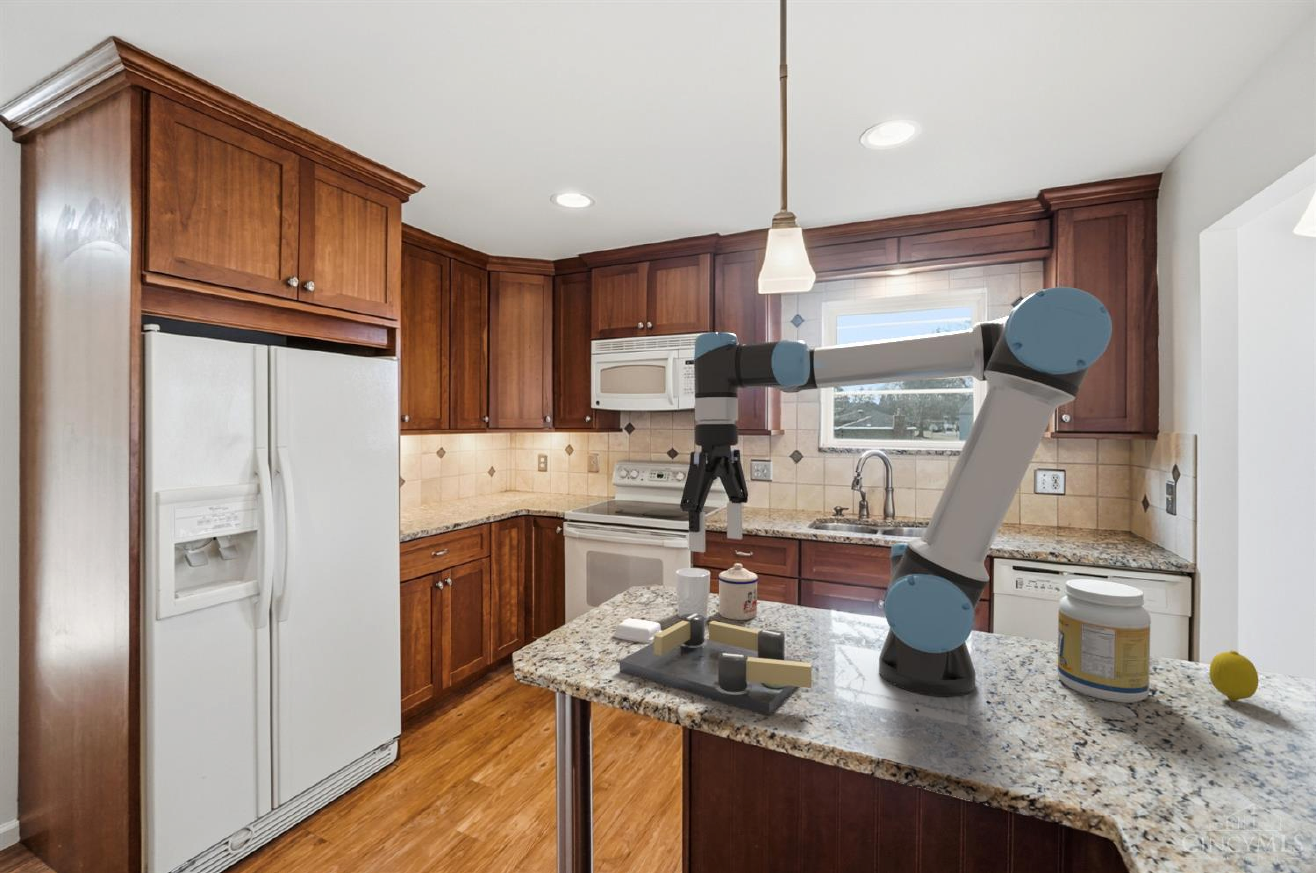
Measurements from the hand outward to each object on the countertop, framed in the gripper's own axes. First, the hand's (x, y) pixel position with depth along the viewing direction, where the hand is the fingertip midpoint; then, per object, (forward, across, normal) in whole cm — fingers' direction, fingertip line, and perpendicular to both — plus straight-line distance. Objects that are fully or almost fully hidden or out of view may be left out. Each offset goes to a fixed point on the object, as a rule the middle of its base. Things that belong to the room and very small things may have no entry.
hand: (716, 544), depth 102 cm
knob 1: (+20, -1, -8) cm, 22 cm away
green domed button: (+21, +2, +12) cm, 24 cm away
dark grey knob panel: (+22, 0, 0) cm, 23 cm away
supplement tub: (+24, -31, +55) cm, 68 cm away
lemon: (+24, -37, +72) cm, 85 cm away
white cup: (+22, -24, -20) cm, 39 cm away
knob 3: (+20, +6, +11) cm, 24 cm away
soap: (+23, -7, -22) cm, 33 cm away
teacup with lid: (+23, -32, -12) cm, 41 cm away
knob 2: (+20, -6, +3) cm, 21 cm away
